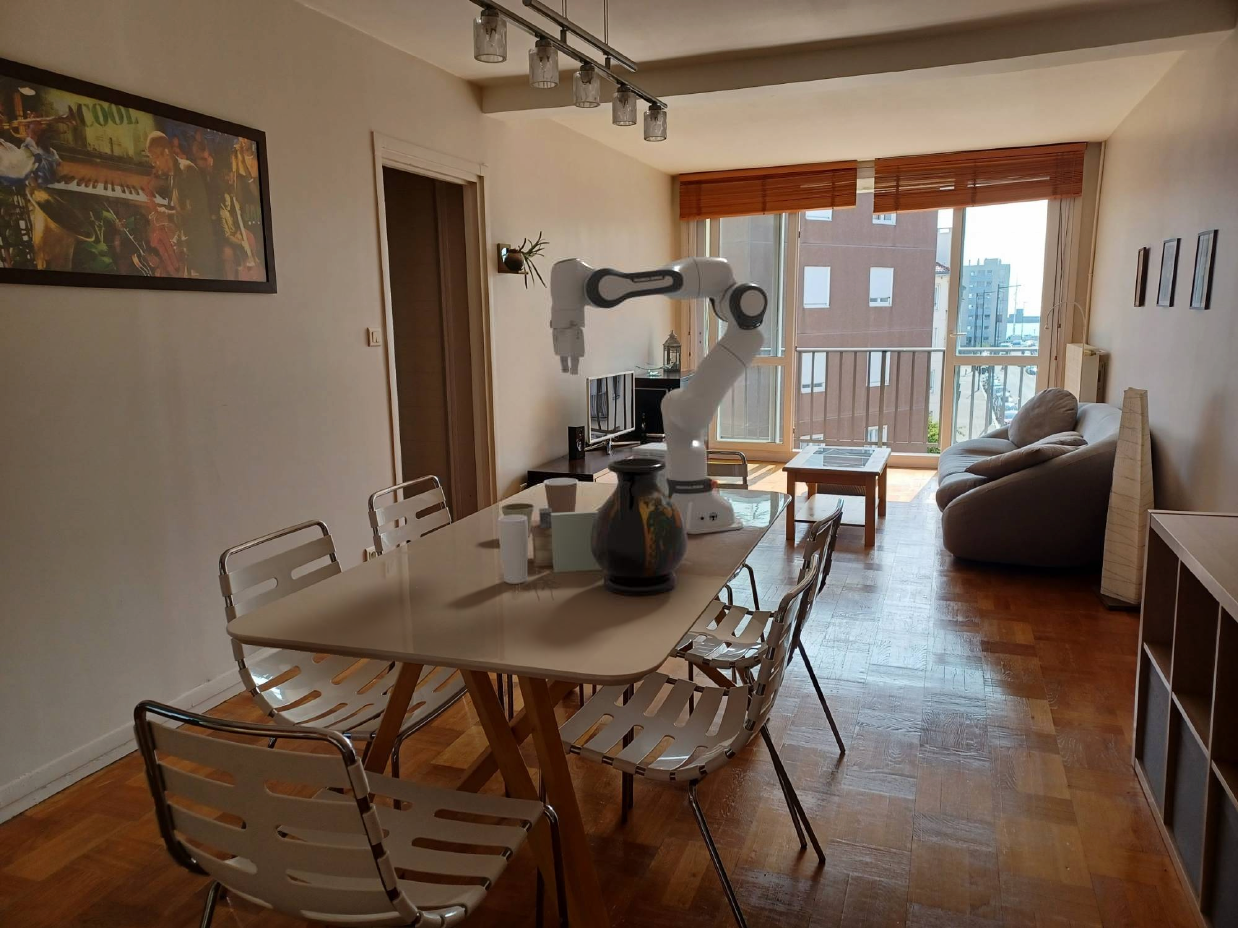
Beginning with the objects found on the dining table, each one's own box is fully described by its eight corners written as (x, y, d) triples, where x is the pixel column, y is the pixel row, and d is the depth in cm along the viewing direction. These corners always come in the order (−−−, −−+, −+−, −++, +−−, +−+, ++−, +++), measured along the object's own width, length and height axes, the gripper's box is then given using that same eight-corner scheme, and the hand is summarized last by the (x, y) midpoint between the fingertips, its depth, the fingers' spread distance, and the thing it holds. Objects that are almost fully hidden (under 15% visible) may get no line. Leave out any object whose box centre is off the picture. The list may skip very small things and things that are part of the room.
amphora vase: (672, 605, 177) (669, 472, 172) (576, 596, 185) (571, 469, 180) (699, 575, 197) (697, 455, 192) (612, 568, 204) (608, 453, 200)
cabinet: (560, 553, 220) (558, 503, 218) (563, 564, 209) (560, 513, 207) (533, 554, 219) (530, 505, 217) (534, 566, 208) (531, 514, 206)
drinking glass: (535, 577, 199) (532, 515, 197) (522, 586, 193) (519, 521, 190) (509, 575, 201) (505, 513, 199) (496, 584, 195) (492, 520, 192)
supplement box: (667, 503, 276) (666, 449, 273) (632, 499, 283) (631, 447, 280) (686, 495, 287) (686, 444, 284) (653, 492, 294) (652, 442, 291)
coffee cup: (586, 518, 258) (584, 479, 256) (566, 525, 249) (564, 485, 247) (558, 515, 263) (557, 476, 261) (538, 522, 255) (536, 482, 253)
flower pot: (539, 532, 242) (537, 502, 241) (532, 540, 233) (530, 510, 232) (506, 532, 243) (504, 502, 242) (498, 541, 234) (496, 510, 233)
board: (617, 561, 211) (615, 505, 208) (620, 568, 205) (618, 511, 202) (552, 565, 209) (550, 509, 206) (553, 572, 203) (551, 514, 201)
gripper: (589, 320, 218) (591, 375, 220) (570, 321, 237) (572, 371, 239) (565, 321, 216) (567, 376, 218) (548, 322, 235) (550, 372, 237)
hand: (569, 373), depth 229 cm, fingers open, 8 cm apart
